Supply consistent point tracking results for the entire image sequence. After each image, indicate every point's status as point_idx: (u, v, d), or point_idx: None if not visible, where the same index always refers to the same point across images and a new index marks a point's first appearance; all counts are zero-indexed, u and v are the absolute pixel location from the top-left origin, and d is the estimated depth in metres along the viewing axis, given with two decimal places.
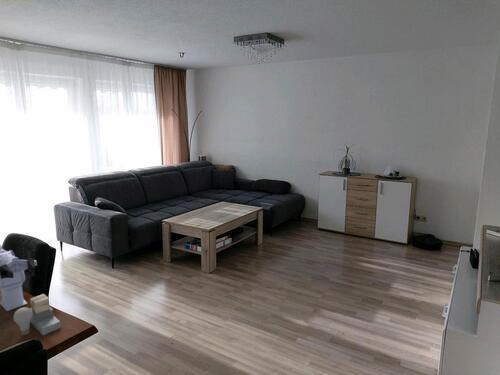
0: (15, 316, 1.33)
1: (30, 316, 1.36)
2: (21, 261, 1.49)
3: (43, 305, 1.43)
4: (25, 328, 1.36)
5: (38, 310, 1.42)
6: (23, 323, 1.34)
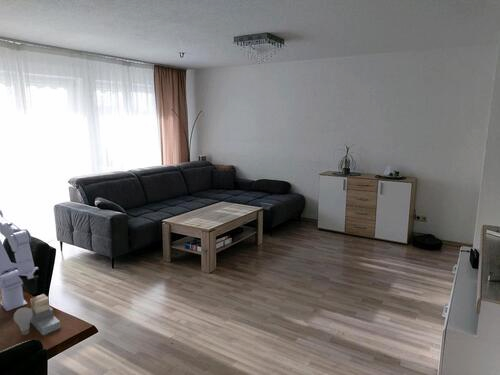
0: (15, 316, 1.33)
1: (30, 316, 1.36)
2: None
3: (43, 305, 1.43)
4: (25, 328, 1.36)
5: (38, 310, 1.42)
6: (23, 323, 1.34)
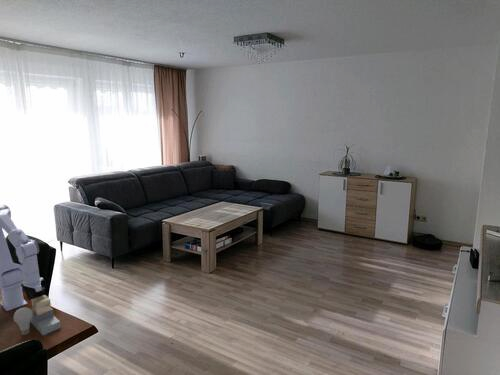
0: (15, 316, 1.33)
1: (30, 316, 1.36)
2: None
3: (44, 306, 1.42)
4: (25, 328, 1.36)
5: (39, 311, 1.41)
6: (23, 323, 1.34)
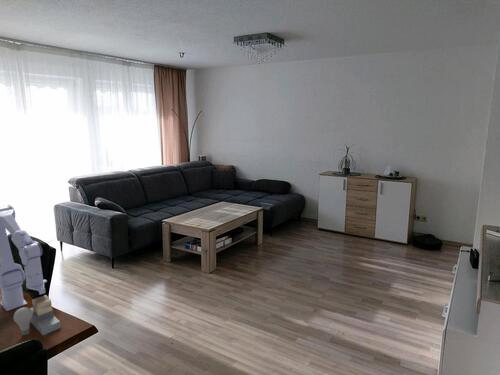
0: (15, 316, 1.33)
1: (30, 316, 1.36)
2: None
3: (45, 307, 1.41)
4: (25, 328, 1.36)
5: (40, 312, 1.40)
6: (23, 323, 1.34)
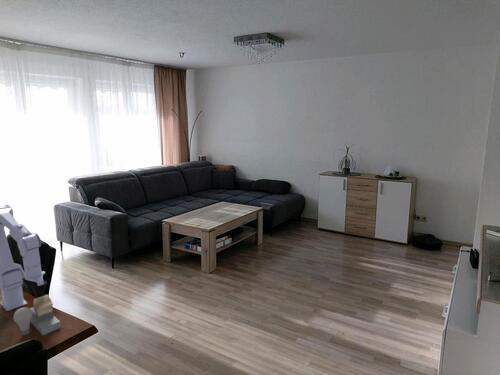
0: (15, 316, 1.33)
1: (30, 316, 1.36)
2: None
3: (46, 309, 1.41)
4: (25, 328, 1.36)
5: (40, 313, 1.40)
6: (23, 323, 1.34)
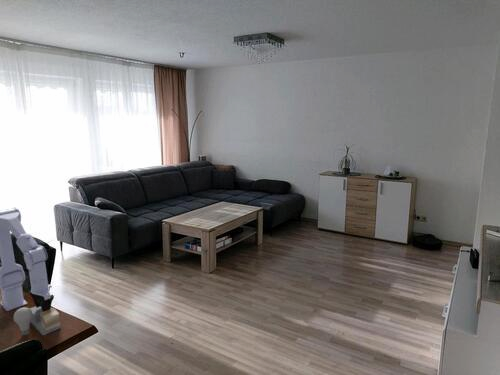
0: (15, 316, 1.33)
1: (30, 316, 1.36)
2: None
3: None
4: (25, 328, 1.36)
5: None
6: (23, 323, 1.34)
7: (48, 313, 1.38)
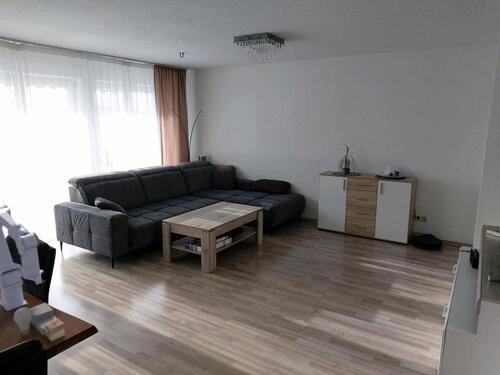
0: (15, 316, 1.33)
1: (30, 316, 1.36)
2: None
3: None
4: (25, 328, 1.36)
5: None
6: (23, 323, 1.34)
7: (56, 332, 1.35)
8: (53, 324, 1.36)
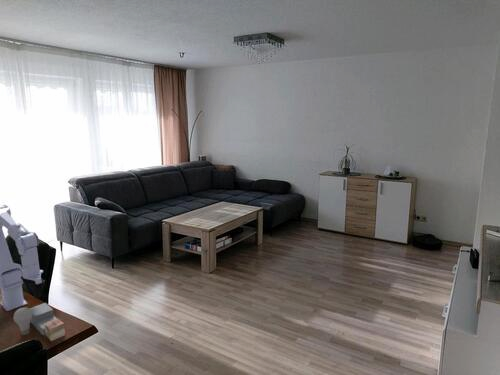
0: (15, 316, 1.33)
1: (30, 316, 1.36)
2: None
3: None
4: (25, 328, 1.36)
5: None
6: (23, 323, 1.34)
7: (56, 332, 1.35)
8: (53, 324, 1.36)
